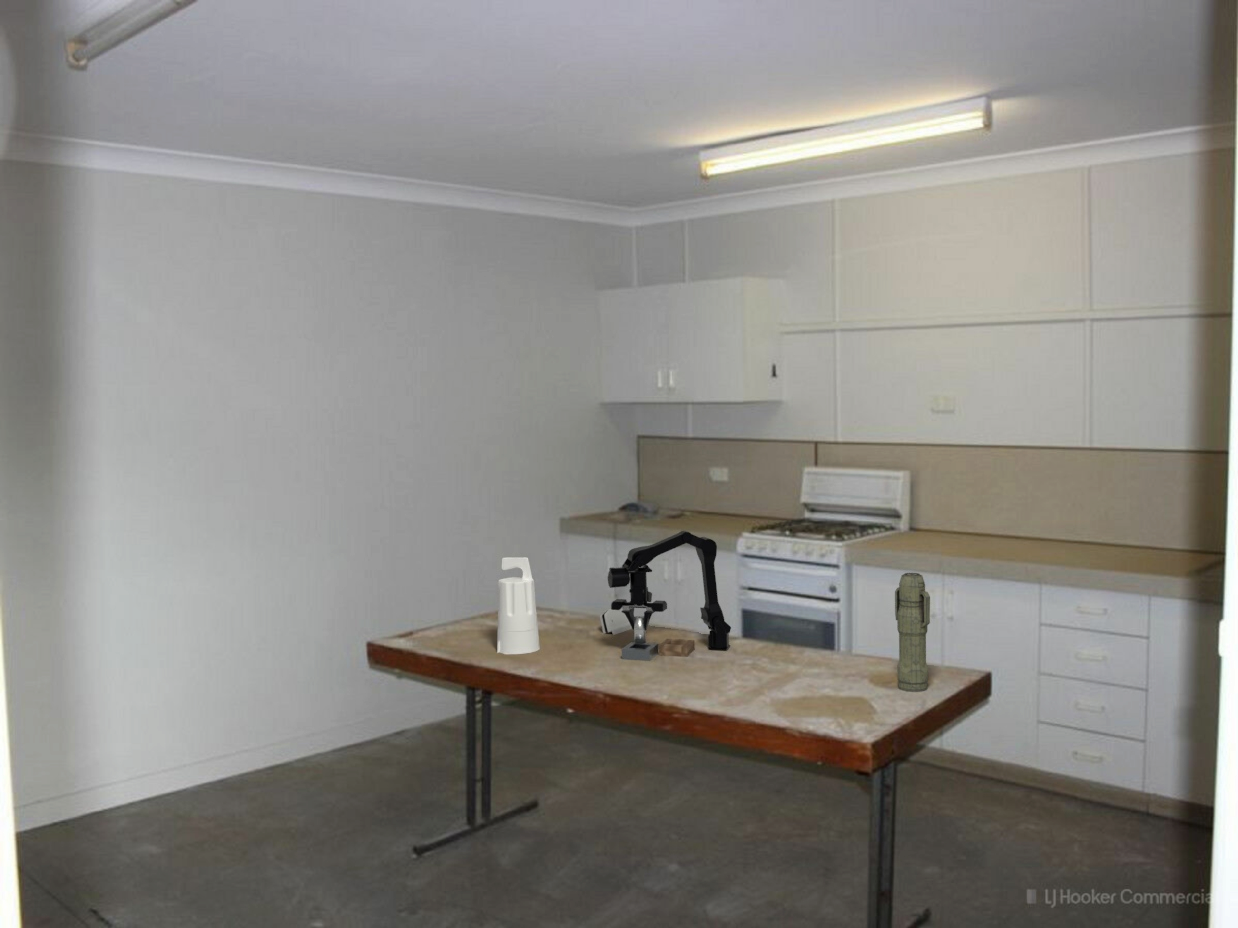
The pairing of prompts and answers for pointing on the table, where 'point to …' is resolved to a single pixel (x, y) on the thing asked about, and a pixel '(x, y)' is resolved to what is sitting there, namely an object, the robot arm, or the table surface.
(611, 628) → the hinge
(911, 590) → the thermos
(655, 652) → the block
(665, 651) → the socket block
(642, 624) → the metal cylinder peg
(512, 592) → the white hook-topped canister
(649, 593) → the robot arm
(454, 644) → the table surface
